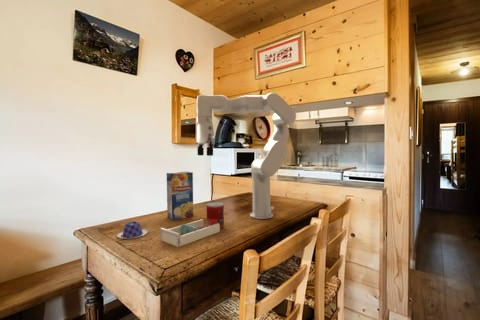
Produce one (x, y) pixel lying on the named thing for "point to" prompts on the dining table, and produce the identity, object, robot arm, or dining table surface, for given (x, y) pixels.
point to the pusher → (187, 229)
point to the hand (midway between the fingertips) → (205, 155)
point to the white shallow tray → (174, 233)
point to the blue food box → (179, 195)
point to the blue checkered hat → (132, 230)
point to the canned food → (215, 214)
